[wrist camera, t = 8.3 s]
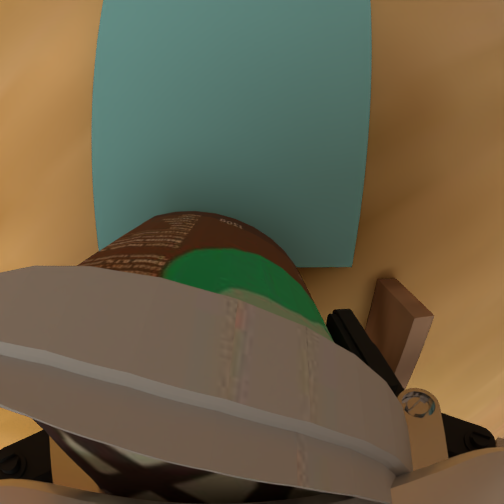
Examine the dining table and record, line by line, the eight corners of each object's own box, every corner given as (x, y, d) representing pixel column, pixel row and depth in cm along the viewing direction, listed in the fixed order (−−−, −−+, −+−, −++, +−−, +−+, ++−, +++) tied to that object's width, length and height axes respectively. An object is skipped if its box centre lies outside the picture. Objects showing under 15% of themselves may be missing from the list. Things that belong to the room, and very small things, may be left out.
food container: (344, 384, 15) (393, 558, 6) (230, 407, 16) (225, 582, 6) (307, 136, 11) (556, 212, 1) (142, 178, 11) (-83, 346, 2)
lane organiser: (54, 277, 14) (18, 317, 11) (395, 278, 16) (434, 315, 13) (129, 480, 22) (124, 514, 18) (325, 475, 24) (335, 508, 20)
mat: (119, -50, 9) (116, -55, 8) (362, -36, 10) (367, -41, 9) (104, 260, 14) (100, 265, 14) (347, 262, 16) (351, 266, 15)
